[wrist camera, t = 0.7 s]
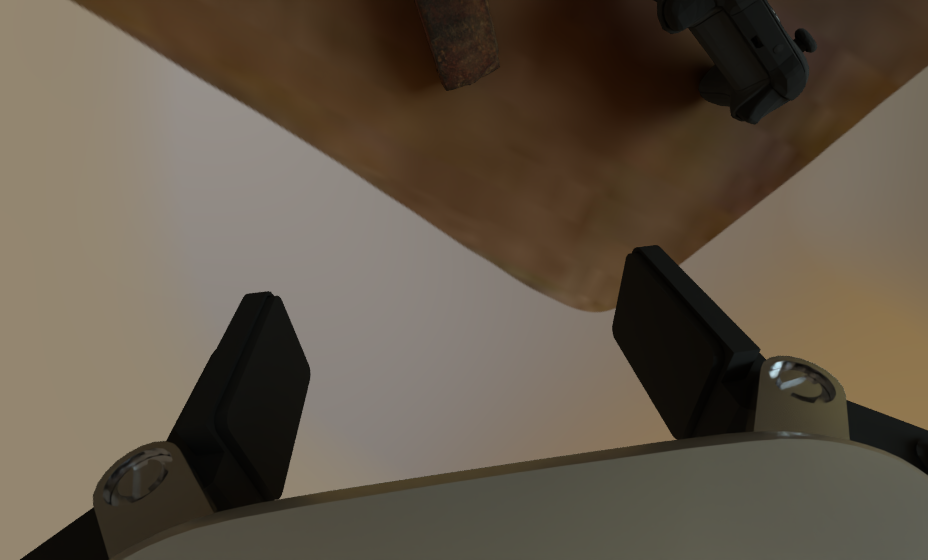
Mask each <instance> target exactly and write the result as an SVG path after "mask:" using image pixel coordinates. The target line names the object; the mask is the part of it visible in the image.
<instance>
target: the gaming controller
mask: <svg viewBox="0 0 928 560" xmlns="http://www.w3.org/2000/svg"><path fill="white" fill-rule="evenodd" d="M654 1H656V2H657V16H658V19H659V21H660V24H661V26H662V29H663V30H665V31H667V32H669V33H670V34H674V33H679V32H681V31H683V30H684V29H686V28H689V30H690V31H691V32H692V34H693V35H694V36H695V38H696V39H697V40H698V42H699V43H700V44H701V46H702V47H703V48H704V50H705V51H706V52H707V54H708V55H709V56H710V58H711V59H712V60H713V62H714V63H715V65H714V66H713V67H712V68H711V69H710V70H709V71H708V72H707V74H706V75H705V76H704V77H703V79H702V80H701V82H700V84H699V92H700V95H701V96H702V97H703V98H704V99H705V100H707V101H708V102H711V103H714V104H717V105H720V106H729V107H730V111H731V116H732V117H733V118H735V119H737V120H739V121H746V122H748V123H751V124H756V123H758V122H759V121H760V119H761V118H762V117H764V116H765V115H767V114H768V113H770V112H771V111H773V110H775V109H777V108H779V107H780V106H782V105H783V104H785V103H787V102H788V101H790V100H794V99H795V98H796V97H798V95H799V94H800V93H801V92H802V91H803V89H804V87H805V85H806V82H807V80H808V76H809V66H808V63H807V60H806V58H805V56H804V54H803V52H804V51H806V52H810V53H812V52H814V51H815V50H816V48H817V44H816V42H815V40H814V39H813V38H812V36H811V35H810V34H809V33H808V32H807V31H806V30H805V29H803V28H801V29H798V30H797V31H795V39H794V40H792V39H791V37H790V36H789V35H788V34H787V32H786V31H785V30H784V28H783V26H782V25H781V22H780V20H779V18H778V16H777V15H776V13H775V12H774V10H773V9H772V7H771V6H770V5H769V3H768V1H767V0H654Z"/></svg>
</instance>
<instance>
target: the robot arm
mask: <svg viewBox="0 0 928 560" xmlns="http://www.w3.org/2000/svg"><path fill="white" fill-rule="evenodd" d="M612 331H613V336H614V338H615V340H616V342H617V343H618V345H619V347H620V349H621V350H622V352H623V353H624V355H625V357H626V358H627V360H628V362H629V363H630V365H631V367H632V368H633V370H634V372H635V374H636V375H637V377H638V379H639V380H640V382H641V383H642V385H643V387H644V389H645V390H646V392H647V394H648V395H649V397H650V399H651V400H652V402H653V404H654V405H655V407H656V409H657V410H658V412H659V414H660V415H661V417H662V419H663V420H664V422H665V424H666V425H667V427H668V429H669V430H670V432H671V434H672V435H673V437H674V438H675V439H677V440H672V441H664V442H657V443H650V444H643V445H636V446H629V447H622V448H615V449H608V450H601V451H594V452H587V453H580V454H573V455H566V456H560V457H553V458H546V459H539V460H533V461H525V462H518V463H511V464H505V465H499V466H492V467H485V468H478V469H471V470H464V471H458V472H451V473H444V474H438V475H431V476H424V477H418V478H411V479H405V480H399V481H392V482H385V483H379V484H373V485H366V486H359V487H353V488H346V489H340V490H333V491H327V492H321V493H316V494H309V495H304V496H297V497H292V498H286V499H281V500H277V499H279V498H280V497H281V495H282V492H283V489H284V484H285V480H286V476H287V472H288V468H289V463H290V460H291V456H292V451H293V447H294V443H295V439H296V435H297V430H298V427H299V422H300V418H301V414H302V410H303V406H304V402H305V398H306V394H307V389H308V385H309V381H310V367H309V364H308V362H307V360H306V357H305V355H304V352H303V350H302V347H301V345H300V343H299V340H298V338H297V335H296V333H295V331H294V328H293V326H292V324H291V321H290V319H289V316H288V314H287V311H286V309H285V307H284V304H283V302H282V300H281V298H280V297H279V296H274V295H273V294H272V293H271V292H269V291H268V292H259V293H250V294H246V295H245V296H244V297H243V299H242V301H241V303H240V305H239V307H238V309H237V311H236V312H235V314H234V316H233V318H232V320H231V322H230V324H229V326H228V328H227V330H226V332H225V334H224V336H223V337H222V339H221V341H220V343H219V345H218V347H217V349H216V350H215V351H214V352H213V354H212V355H211V357H210V359H209V361H208V363H207V364H206V366H205V368H204V370H203V372H202V374H201V376H200V378H199V380H198V382H197V383H196V385H195V387H194V389H193V391H192V393H191V395H190V397H189V399H188V401H187V402H186V404H185V406H184V408H183V410H182V412H181V414H180V416H179V418H178V420H177V421H176V424H175V425H174V427H173V429H172V431H171V433H170V435H169V437H168V439H167V441H160V442H152V443H149V444H146V445H143V446H140V447H138V448H137V449H135V450H133V451H131V452H129V453H127V454H126V455H125V456H123V457H122V458H120V459H119V460H118V461H116V462H115V463H114V464H113V465H112V466H111V467H110V468H109V469H108V470H107V471H106V472H105V474H104V475H103V477H102V478H101V479H100V481H99V482H98V484H97V486H96V489H95V491H94V494H93V506H94V507H93V508H92V509H91V510H89V511H88V512H86V513H85V514H84V515H82V516H81V517H79V518H78V519H76V520H75V521H74V522H72V523H71V524H69V525H68V526H67V527H65V528H64V529H62V530H61V531H60V532H58V533H57V534H56V535H54V536H53V537H51V538H50V539H48V540H47V541H46V542H44V543H43V544H41V545H40V546H38V547H37V548H36V549H34V550H33V551H31V552H30V553H29V554H27V555H26V556H24V557H23V558H22V559H20V560H928V430H925V429H922V428H920V427H917V426H914V425H912V424H909V423H906V422H904V421H901V420H898V419H896V418H893V417H890V416H888V415H885V414H882V413H880V412H877V411H874V410H872V409H869V408H866V407H864V406H861V405H858V404H856V403H853V402H850V401H848V400H846V395H845V392H844V389H843V387H842V385H841V384H840V383H839V382H838V380H837V379H836V378H835V377H833V376H832V375H831V374H830V373H829V372H827V371H826V370H824V369H823V368H821V367H819V366H818V365H816V364H813V363H811V362H809V361H806V360H803V359H800V358H795V357H790V356H776V357H771V358H769V359H767V360H766V359H765V358H764V357H763V356H762V355H761V354H760V353H759V352H760V348H759V347H758V346H757V345H756V344H755V343H754V342H753V341H752V340H751V339H750V338H749V337H748V336H747V335H746V334H745V333H744V332H743V331H742V330H741V329H740V328H739V327H738V326H737V325H736V324H735V323H734V322H733V321H732V320H731V319H730V318H729V317H728V316H727V315H726V314H725V313H724V312H723V311H722V310H721V309H720V307H718V305H717V304H716V303H715V302H714V301H713V300H711V298H710V297H709V296H708V295H707V294H706V293H705V292H704V291H703V290H702V289H701V288H700V287H699V286H698V285H697V284H696V283H695V282H694V281H693V280H692V279H691V278H690V277H689V276H688V275H687V274H686V273H685V272H684V271H683V270H682V269H681V268H680V267H679V266H678V265H677V264H676V263H675V262H674V261H673V260H672V259H671V258H670V257H669V256H668V255H667V254H666V253H665V252H664V251H663V250H662V249H661V248H660V247H659V246H657V245H653V246H644V247H636V248H634V250H633V251H632V253H630V254H628V255H627V257H626V261H625V266H624V271H623V276H622V281H621V286H620V291H619V296H618V301H617V306H616V310H615V315H614V321H613V326H612Z"/></svg>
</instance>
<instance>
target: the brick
mask: <svg viewBox="0 0 928 560" xmlns="http://www.w3.org/2000/svg"><path fill="white" fill-rule="evenodd" d="M414 1H415V4H416V7H417V10H418V13H419V16H420V19H421V22H422V25H423V27H424V31H425V34H426V37H427V40H428V43H429V46H430V49H431V52H432V55H433V58H434V61H435V64H436V67H437V71H438V73H439V77H440V80H441V82H442V85H443V86H444V88H445V90H446V91H448V90H453V89H456V88H459V87H462V86H465V85H471V84H472V83H475V82H476V81H477V80H478V79H479V78H481V77H483V76H485V75H488V74H489V73H491V72H493V71H495V70H496V69H498V68H499V67H500V66H499V59H498V45H497V40H496V34H495V29H494V26H493V22H492V18H491V14H490V9H489V4H488V0H414Z"/></svg>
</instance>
